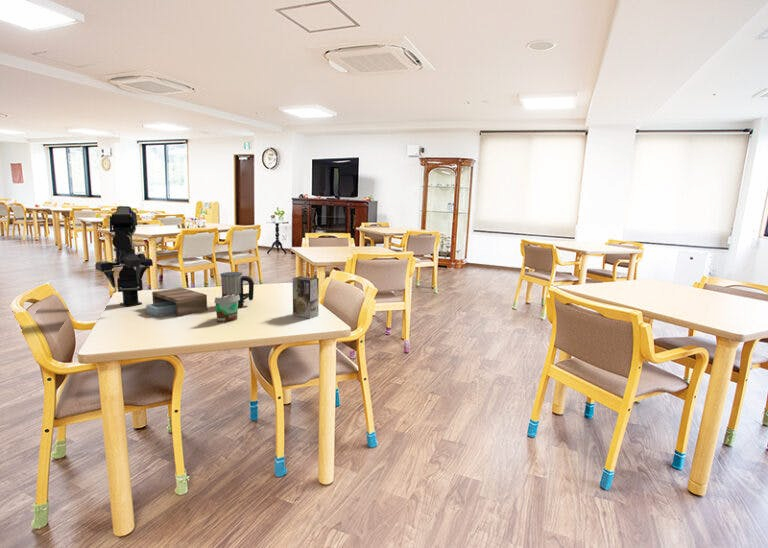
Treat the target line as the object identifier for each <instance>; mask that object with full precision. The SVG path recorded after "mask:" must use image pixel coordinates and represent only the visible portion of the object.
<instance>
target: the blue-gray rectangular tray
mask: <svg viewBox="0 0 768 548" xmlns="http://www.w3.org/2000/svg"><path fill="white" fill-rule="evenodd" d="M145 307H146V314H148V315H151V316H153V317H156V318H158V317H159V318H160V317H164V316H168V315H173V314H176V303H175V302H172V301H165V302H160V303H154V304H153V303H150V304H145Z"/></svg>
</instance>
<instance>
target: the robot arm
mask: <svg viewBox="0 0 768 548" xmlns="http://www.w3.org/2000/svg"><path fill="white" fill-rule="evenodd" d="M137 227H138V216H137V213H136V212H135V211H133V210H132V207H131V206H127V205H125V206H123V205H121V206H120V205H119V206H116V211H115V212H113V213H111V215H110V216H109V233H114V234H113V237H112V240H111V243H112V245H113V247H114V248H113V251H114V252H115V259H114V262H112V261H107V260H105V261H96V263H95V264H94V266H95V270H97V271H99V272H101V273H103V274H104V275H105V276H106V278H107V280H108V281H109V284H110V285H111V287H112V288H116V283H117V291H118V293H121V292H122V293H121V294H122V302H120V303H119V305H122V306H123V307H132V306H138V305H139V306H140V305H142V304H143V303H142V302H141V301H139V292H141V291H143V290H144V288H143V287H144V285H143V280H142V278H143V277H144V273H145V272H146V271H147V269H150V267H152V266H154V263H153V260H152V258H148V257H146V254H145V253H137V254H136V252H135V249H134V247H133V246H134V244H133V242H134V241H133V235H134V234H135V233H136V231H137ZM121 267H122V268H121ZM114 268H121V270H119V271H118V277H117V279H116V281H117V282H115V275H114V274H115V270H114Z"/></svg>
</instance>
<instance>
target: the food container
mask: <svg viewBox="0 0 768 548" xmlns="http://www.w3.org/2000/svg"><path fill="white" fill-rule="evenodd" d="M239 300H240V297H239V295H238V293H237V292H231V294H230V295H225V296H223V297H222V296H221V297H215V298H214V304H215V311H216V322H217V323H230V322H234V321H237V320H238V314H239V313H238V310H239V308H238V301H239Z"/></svg>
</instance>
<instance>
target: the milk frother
mask: <svg viewBox="0 0 768 548" xmlns="http://www.w3.org/2000/svg"><path fill="white" fill-rule="evenodd" d="M219 275H220V278H221V279H220V280H221V281H220V282H221V297H223V296H225V295H230V294H231V292H237V293H238V295H239V297H240V300H239V301H238V309H239V308H242V307H243V306H244V305H245V304H244V301H245V300H247V299H248V300H249V301H253V300H254V287H255V283H254V282H255V281H254V279H253V278H252V277H250V276H249V275H248V276H247V275H243V272H240V271H226V272H225V271H224V272H222V273H220V274H219ZM244 282H247V283H248V292H247V293H244Z"/></svg>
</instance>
